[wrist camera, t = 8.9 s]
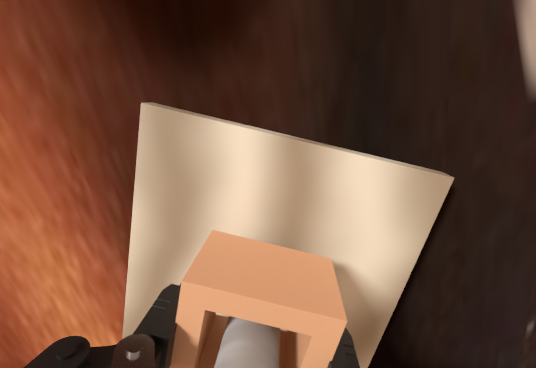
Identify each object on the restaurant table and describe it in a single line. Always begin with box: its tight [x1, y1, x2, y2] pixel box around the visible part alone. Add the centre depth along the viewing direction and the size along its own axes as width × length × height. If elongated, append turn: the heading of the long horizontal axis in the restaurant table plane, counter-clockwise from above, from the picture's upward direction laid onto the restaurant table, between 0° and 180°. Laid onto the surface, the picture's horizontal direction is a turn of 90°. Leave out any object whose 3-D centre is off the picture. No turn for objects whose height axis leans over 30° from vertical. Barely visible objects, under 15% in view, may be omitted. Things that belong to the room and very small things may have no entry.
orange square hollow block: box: [170, 230, 347, 368], centre depth 12 cm, size 6×6×4 cm
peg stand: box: [122, 103, 454, 368], centre depth 13 cm, size 16×16×8 cm
